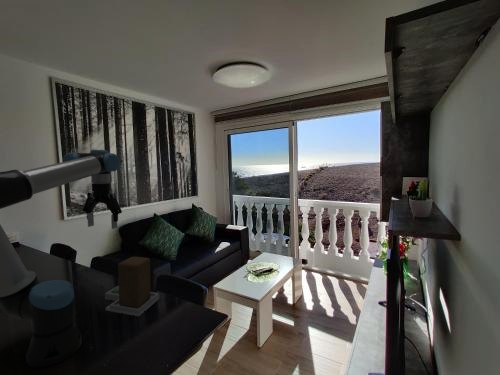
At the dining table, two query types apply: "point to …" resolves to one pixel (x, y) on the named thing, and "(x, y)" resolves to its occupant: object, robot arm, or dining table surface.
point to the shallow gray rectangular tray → (133, 311)
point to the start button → (116, 290)
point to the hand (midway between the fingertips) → (102, 227)
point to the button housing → (111, 295)
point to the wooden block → (134, 281)
